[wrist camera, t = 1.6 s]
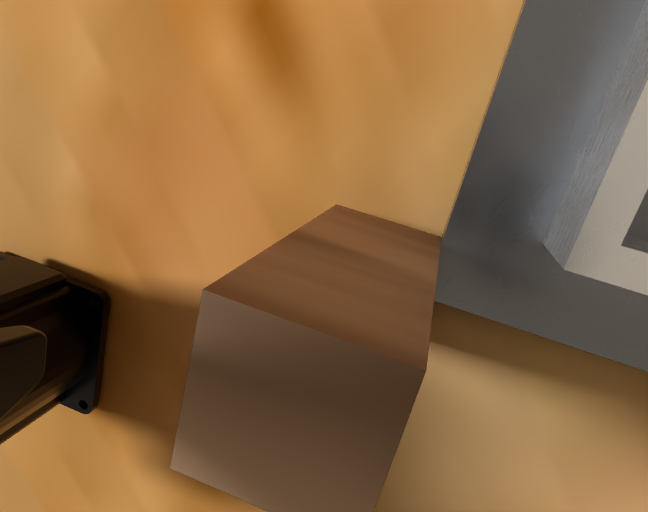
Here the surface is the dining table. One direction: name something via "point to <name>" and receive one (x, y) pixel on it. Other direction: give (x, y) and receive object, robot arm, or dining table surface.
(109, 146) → the dining table surface
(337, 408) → the walnut post
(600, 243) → the metal square socket base
